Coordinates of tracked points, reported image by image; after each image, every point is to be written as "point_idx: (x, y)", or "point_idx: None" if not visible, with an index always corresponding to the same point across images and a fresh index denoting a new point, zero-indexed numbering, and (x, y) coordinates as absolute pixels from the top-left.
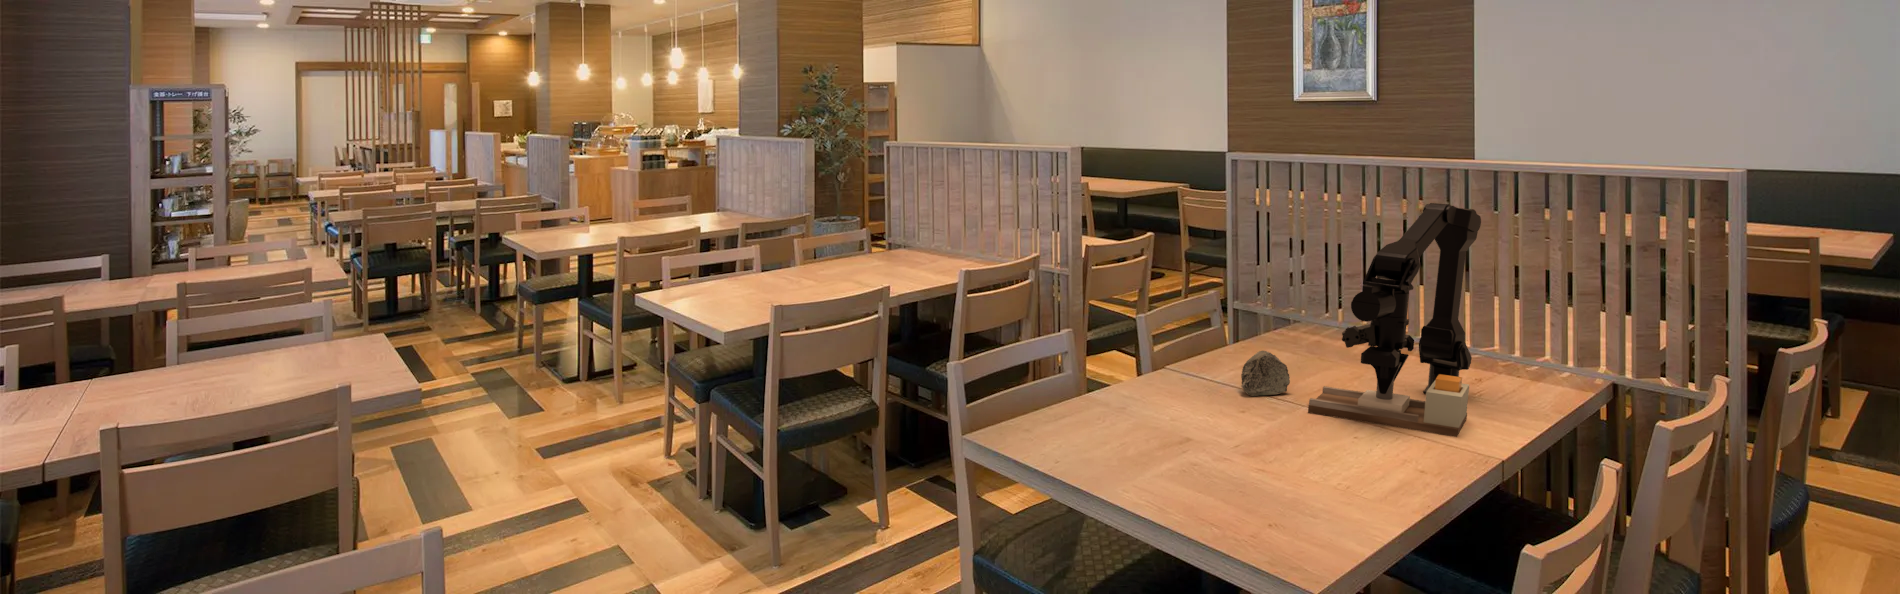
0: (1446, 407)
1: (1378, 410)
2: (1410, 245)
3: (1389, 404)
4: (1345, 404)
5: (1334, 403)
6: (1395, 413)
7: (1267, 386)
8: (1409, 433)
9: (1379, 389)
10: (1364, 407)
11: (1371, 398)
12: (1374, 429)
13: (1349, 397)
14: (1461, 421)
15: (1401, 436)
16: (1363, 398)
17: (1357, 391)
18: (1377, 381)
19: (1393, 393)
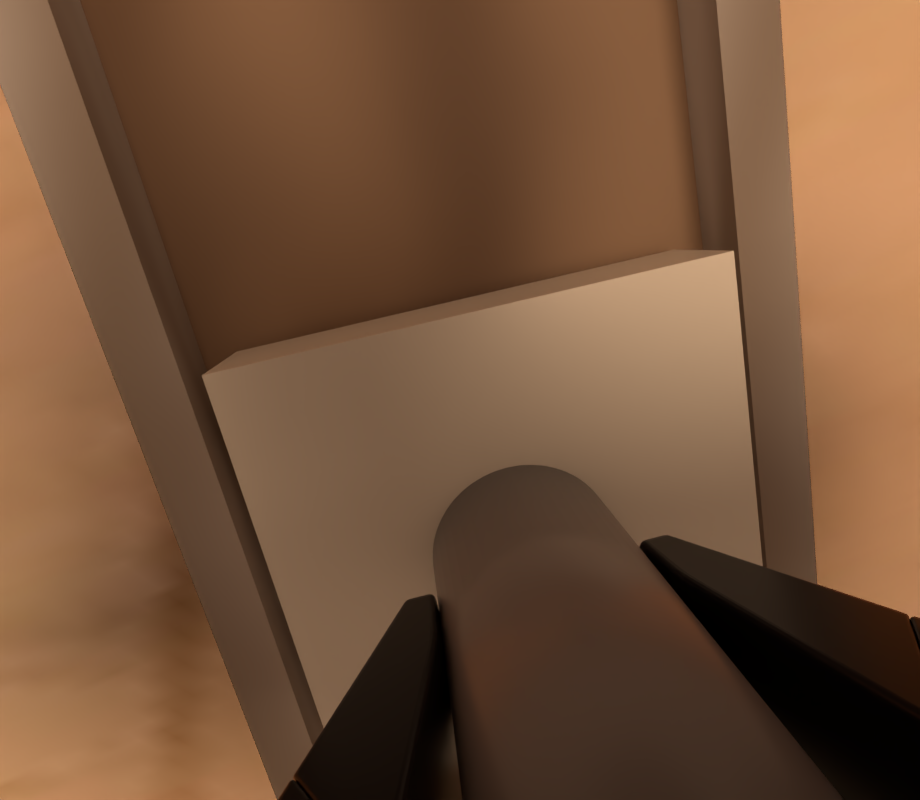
0: None
1: (203, 607)
2: None
3: (314, 695)
4: (86, 257)
5: (14, 120)
6: (256, 739)
7: None
8: (206, 786)
9: (385, 633)
10: (167, 471)
11: (369, 474)
12: (66, 592)
13: (656, 47)
14: None
15: (84, 786)
16: (286, 409)
17: (767, 94)
18: (503, 606)
19: (756, 544)
